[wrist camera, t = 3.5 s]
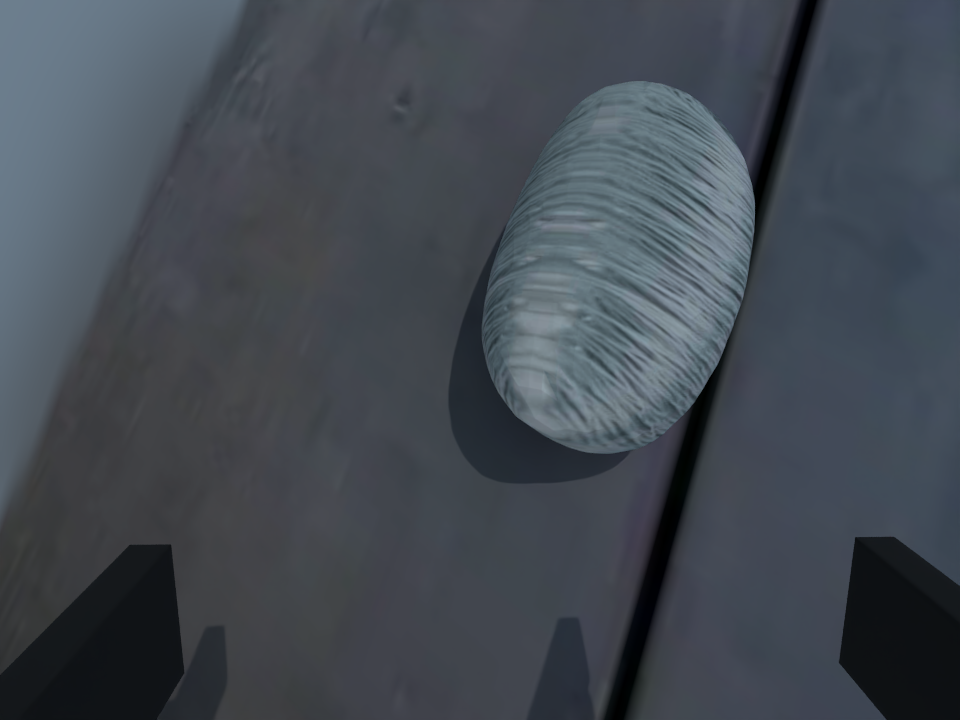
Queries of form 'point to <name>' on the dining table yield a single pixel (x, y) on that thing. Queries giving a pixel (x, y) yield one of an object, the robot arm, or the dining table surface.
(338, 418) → the dining table surface
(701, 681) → the dining table surface
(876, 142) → the dining table surface
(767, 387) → the dining table surface
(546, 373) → the grey streaked ellipsoid
